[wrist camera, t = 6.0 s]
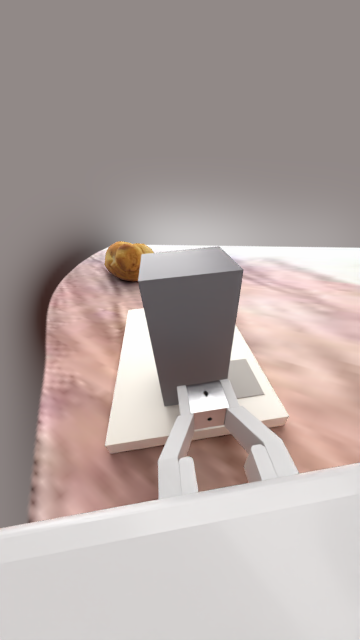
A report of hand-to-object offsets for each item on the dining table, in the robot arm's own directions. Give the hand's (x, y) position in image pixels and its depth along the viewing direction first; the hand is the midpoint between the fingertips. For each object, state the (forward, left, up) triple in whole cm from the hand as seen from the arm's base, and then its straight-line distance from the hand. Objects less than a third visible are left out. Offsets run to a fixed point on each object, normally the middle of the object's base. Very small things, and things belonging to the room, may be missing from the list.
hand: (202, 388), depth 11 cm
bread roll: (-26, -26, -7) cm, 37 cm away
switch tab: (-3, -2, -5) cm, 6 cm away
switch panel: (-8, -5, -7) cm, 11 cm away
